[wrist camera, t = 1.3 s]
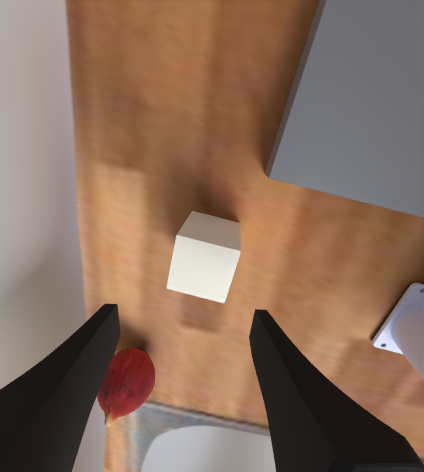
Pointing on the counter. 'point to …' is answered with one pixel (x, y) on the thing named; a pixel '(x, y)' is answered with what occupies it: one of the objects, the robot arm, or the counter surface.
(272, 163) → the riser block
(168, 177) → the counter surface
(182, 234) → the cream block
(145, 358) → the onion
